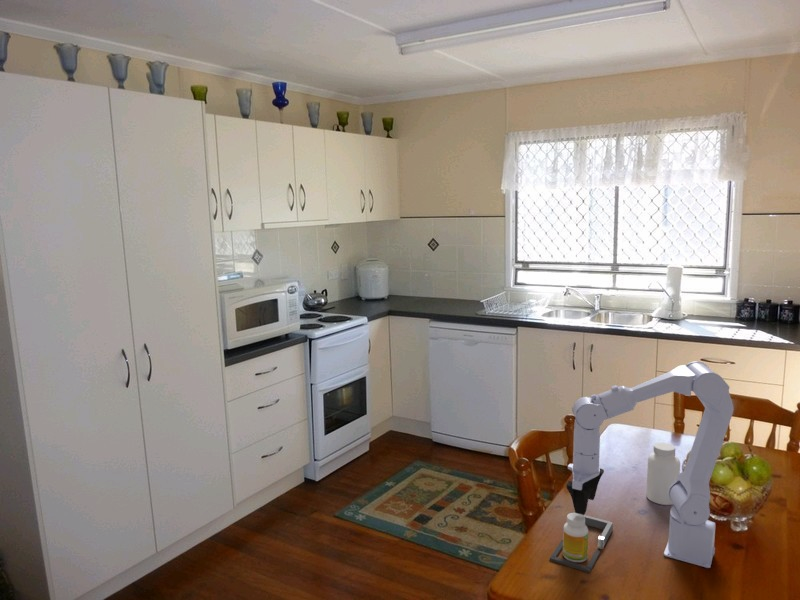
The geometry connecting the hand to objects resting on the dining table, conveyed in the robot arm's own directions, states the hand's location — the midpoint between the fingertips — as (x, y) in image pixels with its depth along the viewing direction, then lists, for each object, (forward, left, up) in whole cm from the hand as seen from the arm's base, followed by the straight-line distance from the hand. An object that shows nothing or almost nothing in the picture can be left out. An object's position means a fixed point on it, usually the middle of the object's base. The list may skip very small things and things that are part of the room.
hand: (584, 505), depth 140 cm
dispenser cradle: (+1, -6, -10) cm, 12 cm away
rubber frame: (+1, +5, -10) cm, 11 cm away
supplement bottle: (+1, +5, -11) cm, 12 cm away
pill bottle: (-11, -33, -11) cm, 37 cm away
